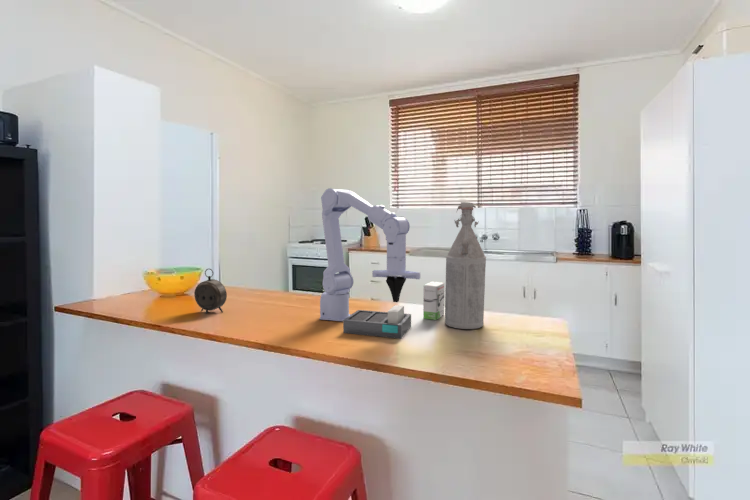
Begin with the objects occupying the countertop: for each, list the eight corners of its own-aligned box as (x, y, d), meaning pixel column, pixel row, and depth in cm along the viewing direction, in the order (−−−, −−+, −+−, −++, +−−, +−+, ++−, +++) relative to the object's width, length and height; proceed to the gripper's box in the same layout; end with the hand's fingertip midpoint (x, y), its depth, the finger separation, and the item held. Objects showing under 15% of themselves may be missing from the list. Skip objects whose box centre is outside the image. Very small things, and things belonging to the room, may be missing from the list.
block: (387, 330, 117) (387, 311, 116) (394, 323, 124) (394, 305, 124) (397, 331, 116) (397, 312, 115) (403, 324, 123) (404, 305, 123)
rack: (342, 333, 118) (342, 320, 118) (358, 321, 131) (358, 309, 130) (400, 339, 112) (401, 325, 112) (411, 326, 125) (411, 314, 125)
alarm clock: (228, 311, 144) (226, 268, 142) (219, 315, 139) (217, 270, 137) (202, 310, 147) (200, 267, 145) (192, 313, 141) (190, 269, 140)
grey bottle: (442, 330, 121) (444, 201, 117) (446, 315, 138) (448, 202, 134) (484, 333, 118) (488, 200, 114) (484, 318, 134) (487, 202, 131)
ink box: (436, 320, 132) (436, 286, 131) (422, 318, 134) (423, 284, 133) (444, 314, 139) (445, 282, 138) (431, 313, 142) (431, 280, 141)
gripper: (369, 257, 116) (369, 302, 117) (417, 259, 112) (416, 306, 113) (376, 255, 123) (376, 297, 124) (421, 256, 118) (421, 300, 120)
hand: (396, 301), depth 119 cm, fingers closed
